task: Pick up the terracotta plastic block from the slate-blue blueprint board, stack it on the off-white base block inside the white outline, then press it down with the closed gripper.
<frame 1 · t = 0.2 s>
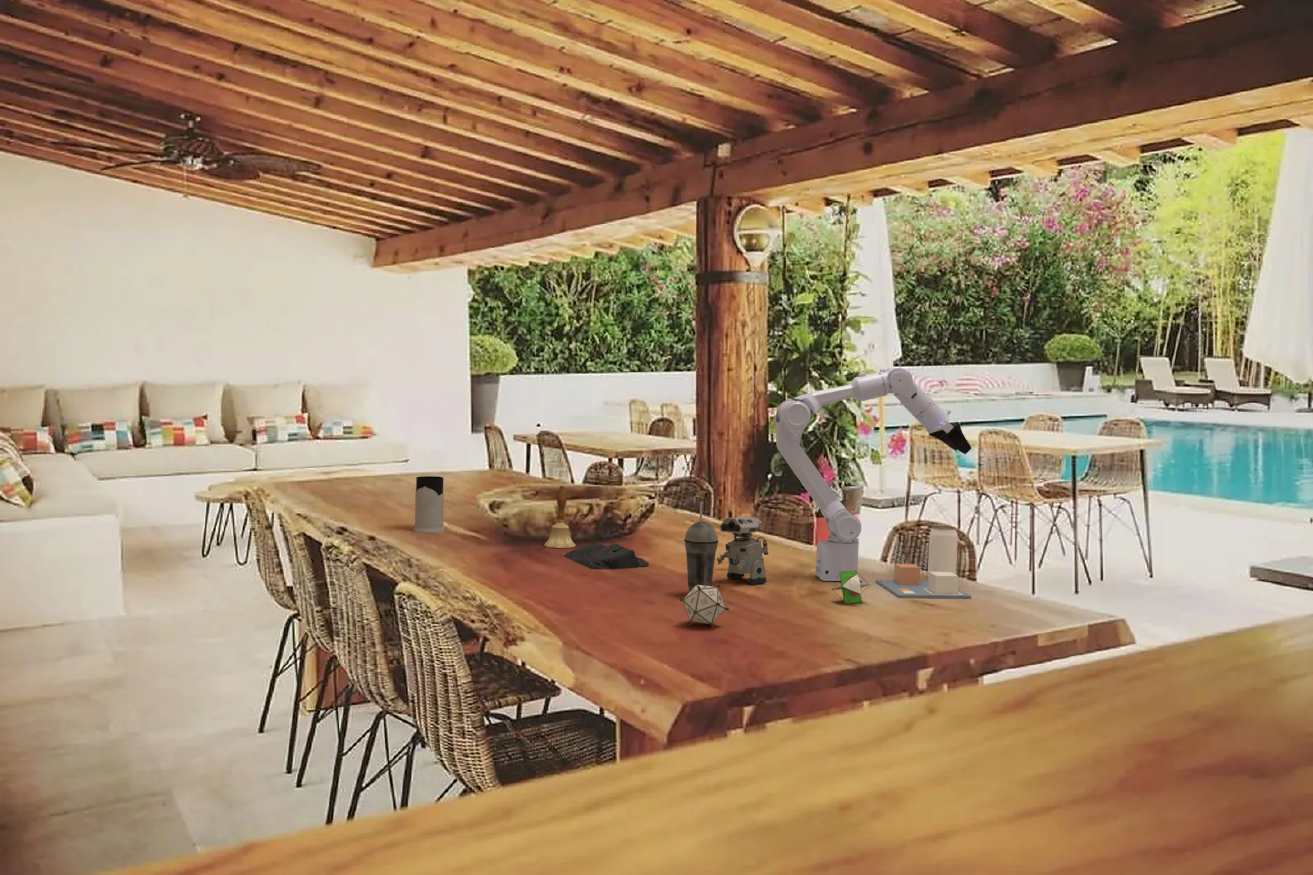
hand: (963, 449, 273), 31 cm above the table, tool tilted 45°, fingers open, 7 cm apart
glass holder: (432, 529, 335), on the table
geometric puzzle: (849, 603, 246), on the table
figurine: (739, 583, 265), on the table
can: (941, 578, 279), on the table
game die: (703, 626, 220), on the table
base block: (942, 591, 257), point 1 cm above the table, touching blueprint board
beverage cup: (699, 595, 249), on the table
blueprint board: (921, 590, 262), on the table
hand bell: (559, 546, 310), on the table
dark slate chunk: (605, 564, 288), on the table
terracotta block: (906, 583, 267), point 1 cm above the table, touching blueprint board
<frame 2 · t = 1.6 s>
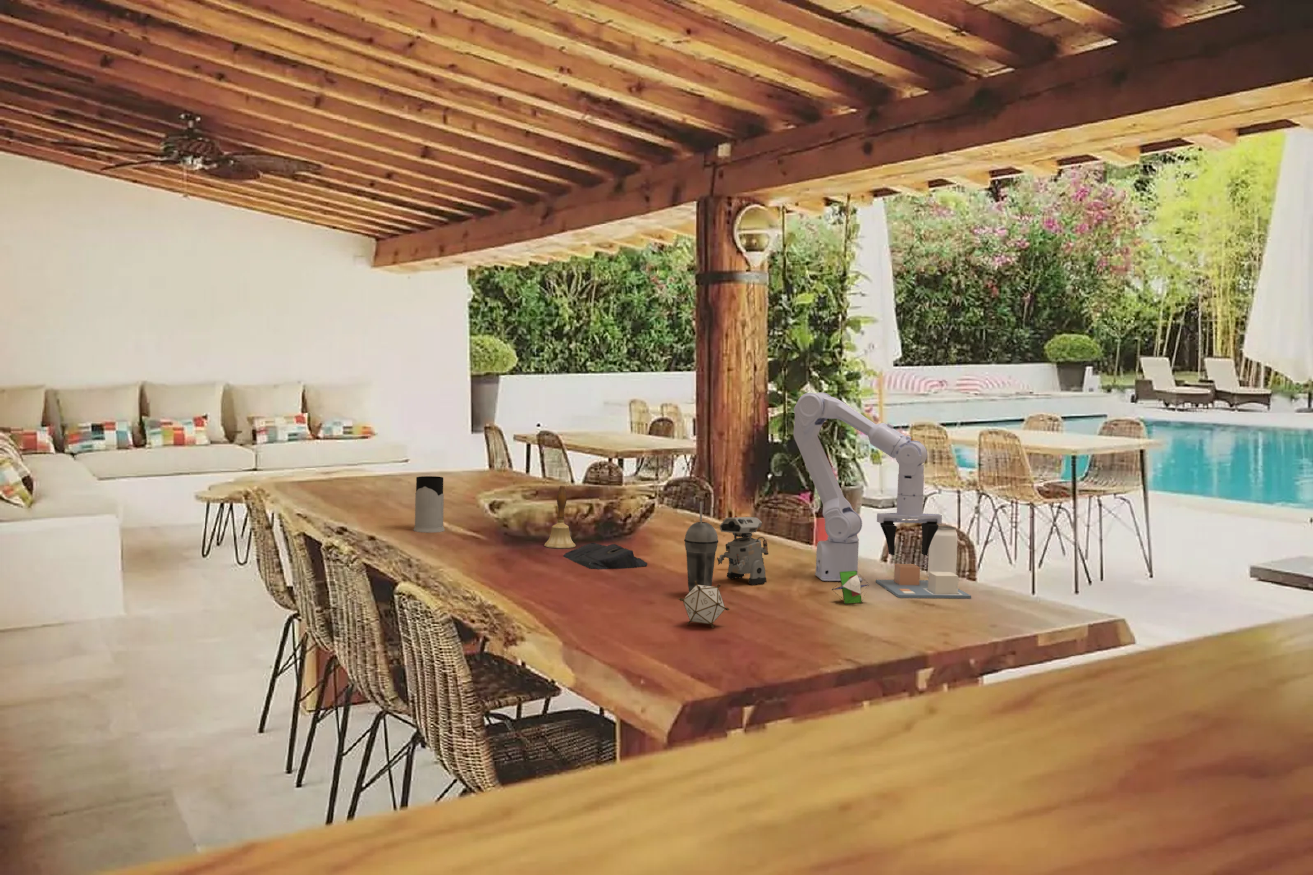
hand: (908, 554, 266), 7 cm above the table, tool pointing down, fingers open, 7 cm apart
nothing on the table moved.
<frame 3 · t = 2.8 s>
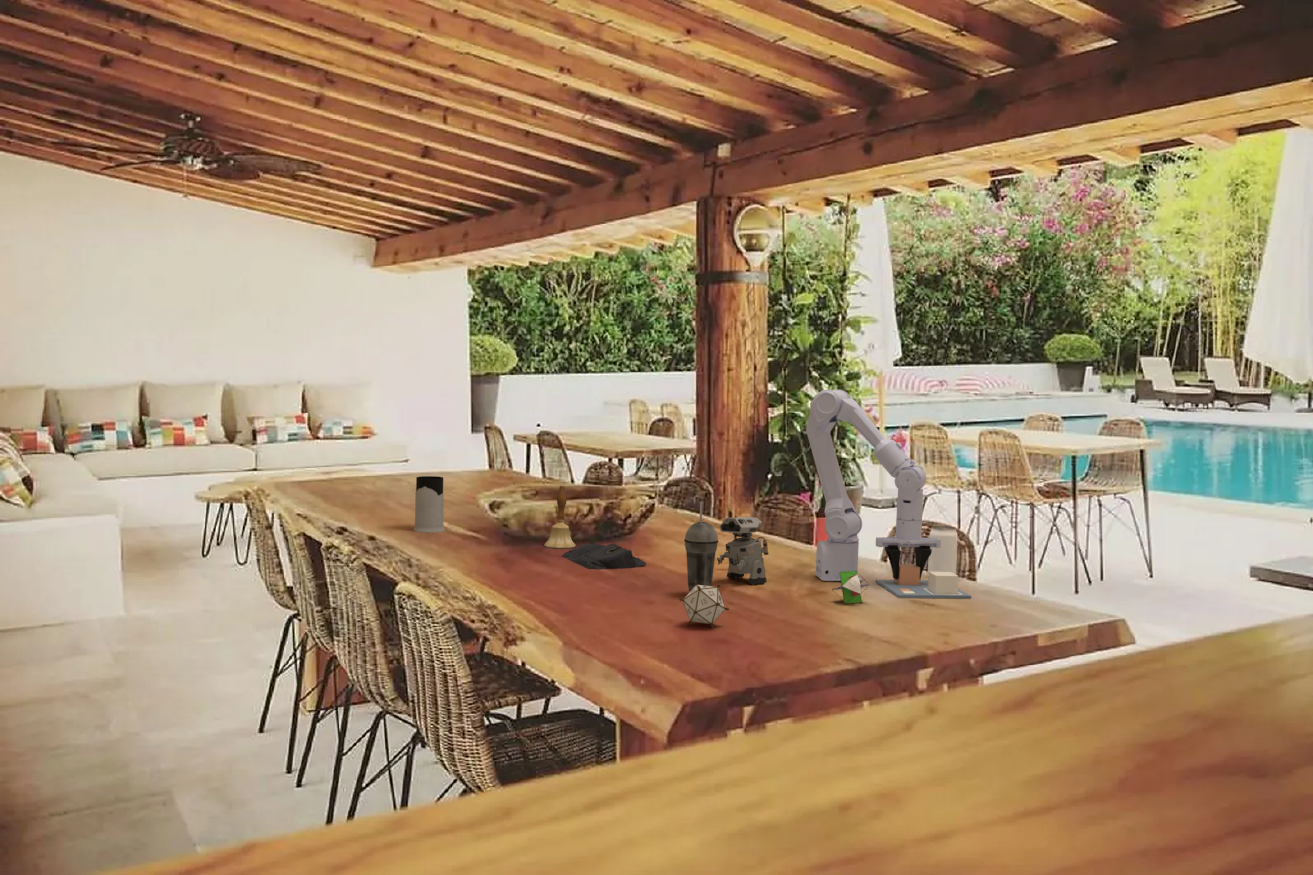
hand: (906, 578, 267), 2 cm above the table, tool pointing down, fingers closed on terracotta block, 4 cm apart
terracotta block: (906, 583, 267), point 1 cm above the table, touching blueprint board, gripper
everything else where it was.
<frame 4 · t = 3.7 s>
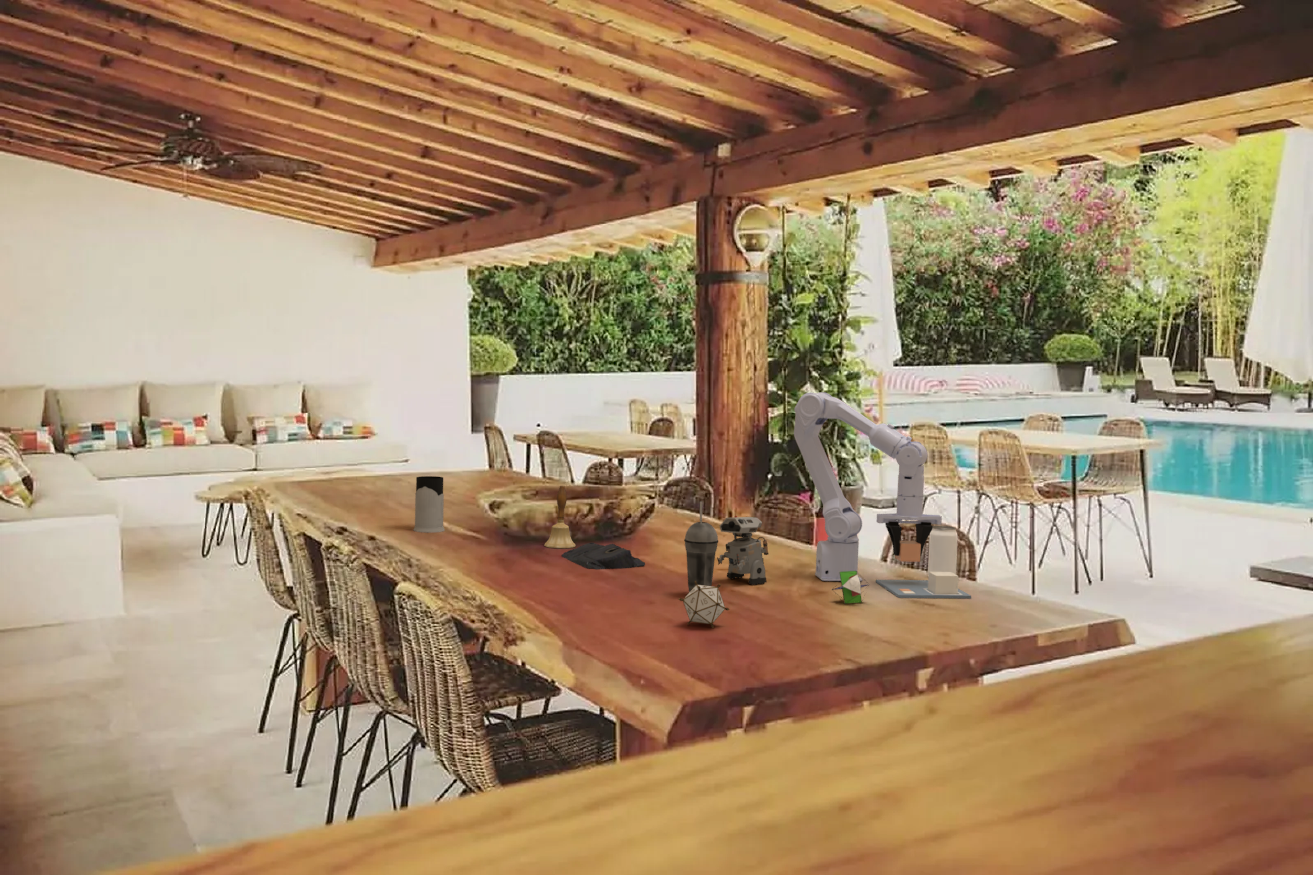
hand: (907, 555, 266), 7 cm above the table, tool pointing down, fingers closed on terracotta block, 4 cm apart
terracotta block: (907, 559, 266), point 6 cm above the table, touching gripper
everything else where it was.
when the fingers open (7 cm above the table, at t = 5.5 s): terracotta block drops 1 cm, resting on base block.
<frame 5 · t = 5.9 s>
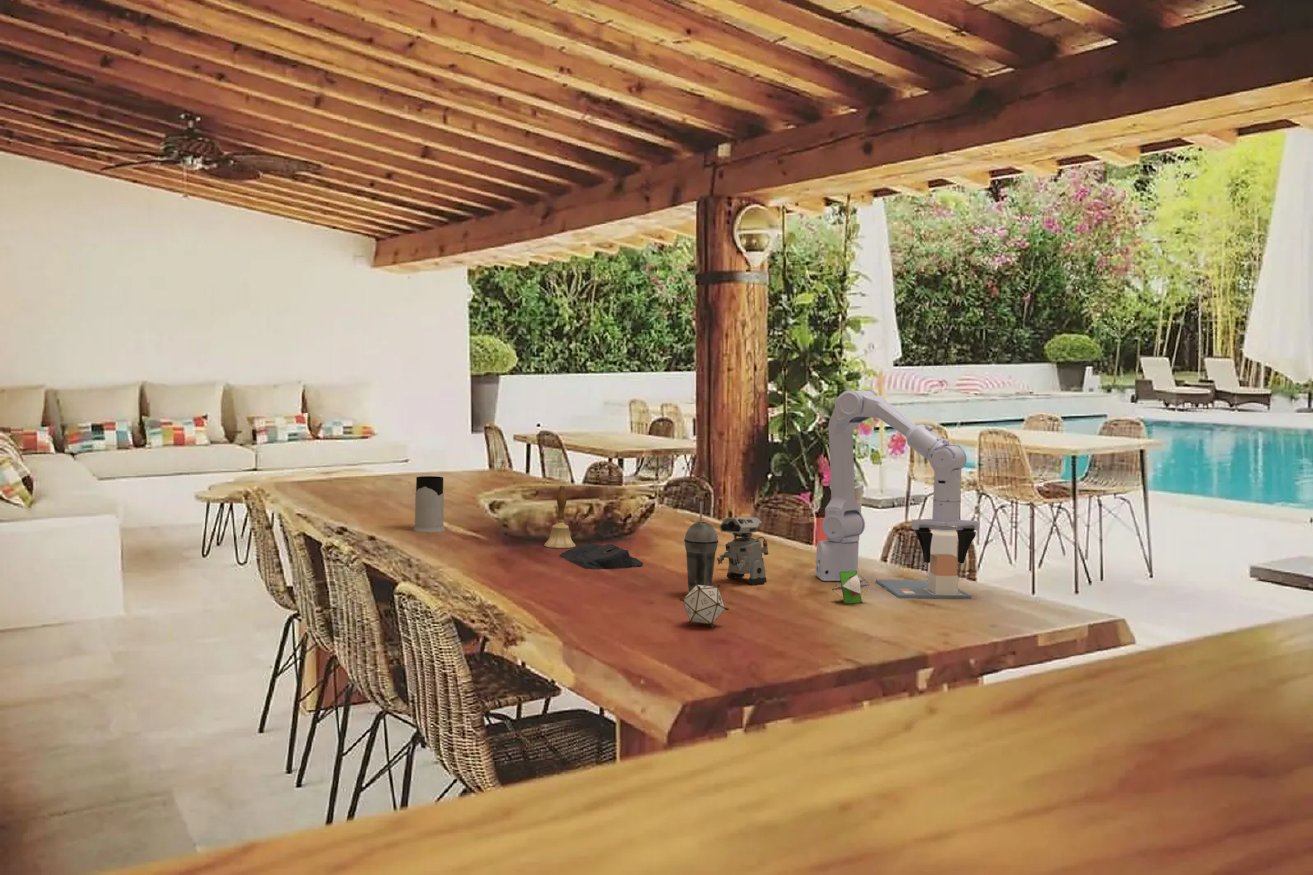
hand: (943, 562, 257), 7 cm above the table, tool pointing down, fingers open, 7 cm apart
base block: (942, 591, 257), point 1 cm above the table, touching blueprint board, terracotta block
terracotta block: (943, 573, 257), point 5 cm above the table, touching base block
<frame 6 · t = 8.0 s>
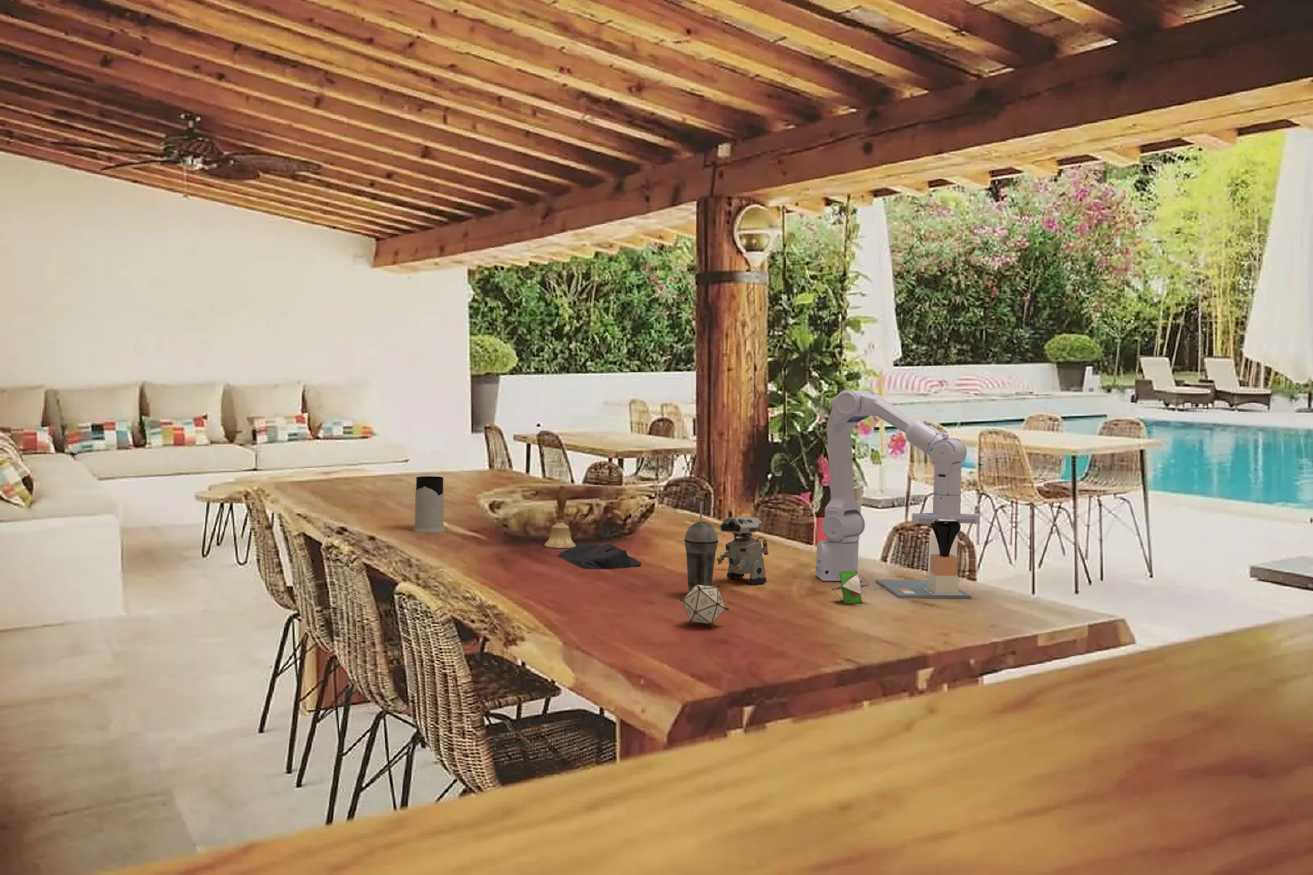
hand: (944, 556, 257), 8 cm above the table, tool pointing down, fingers closed, pressing on terracotta block
terracotta block: (943, 573, 257), point 5 cm above the table, touching base block, gripper
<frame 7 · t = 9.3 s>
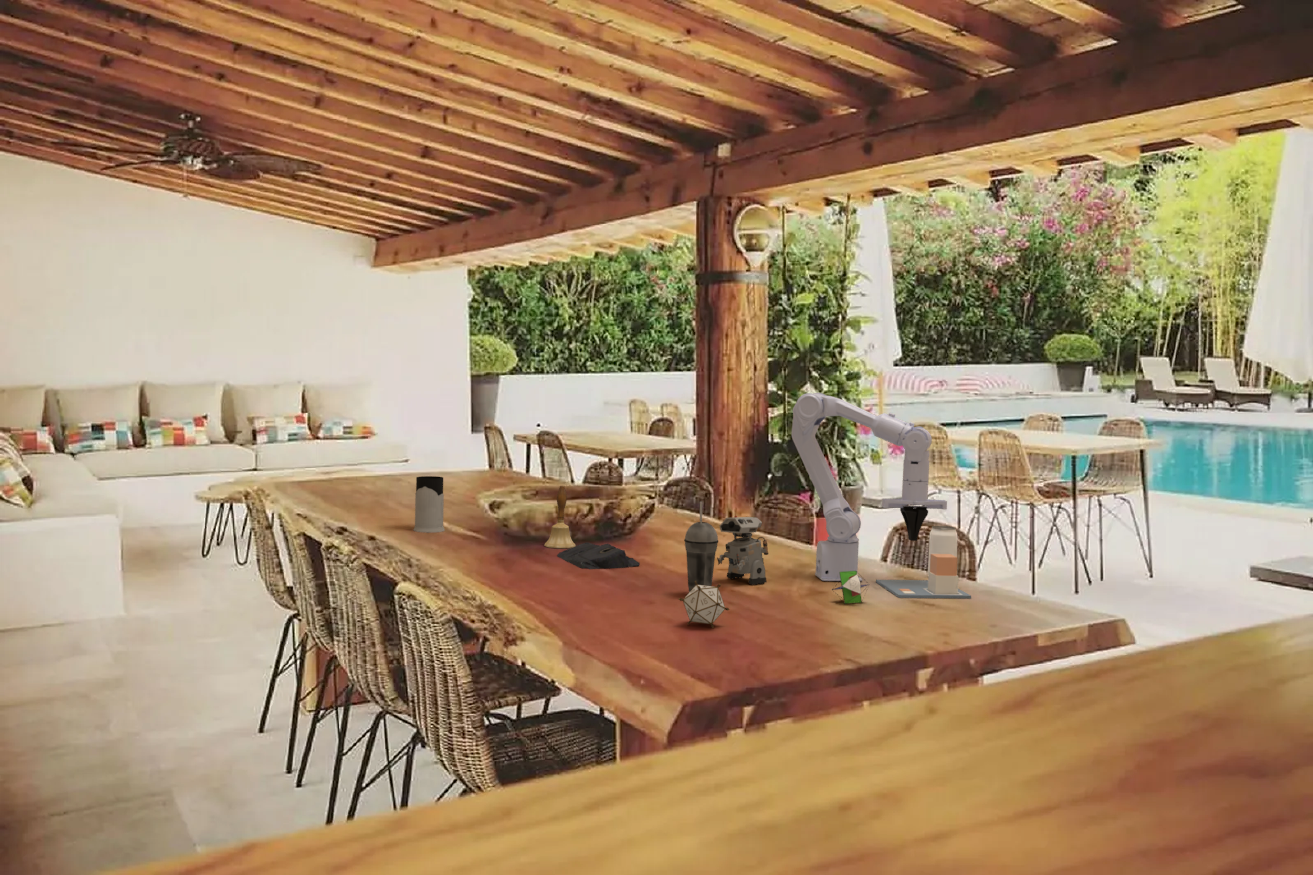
hand: (912, 540, 267), 10 cm above the table, tool pointing down, fingers closed
terracotta block: (943, 573, 257), point 5 cm above the table, touching base block
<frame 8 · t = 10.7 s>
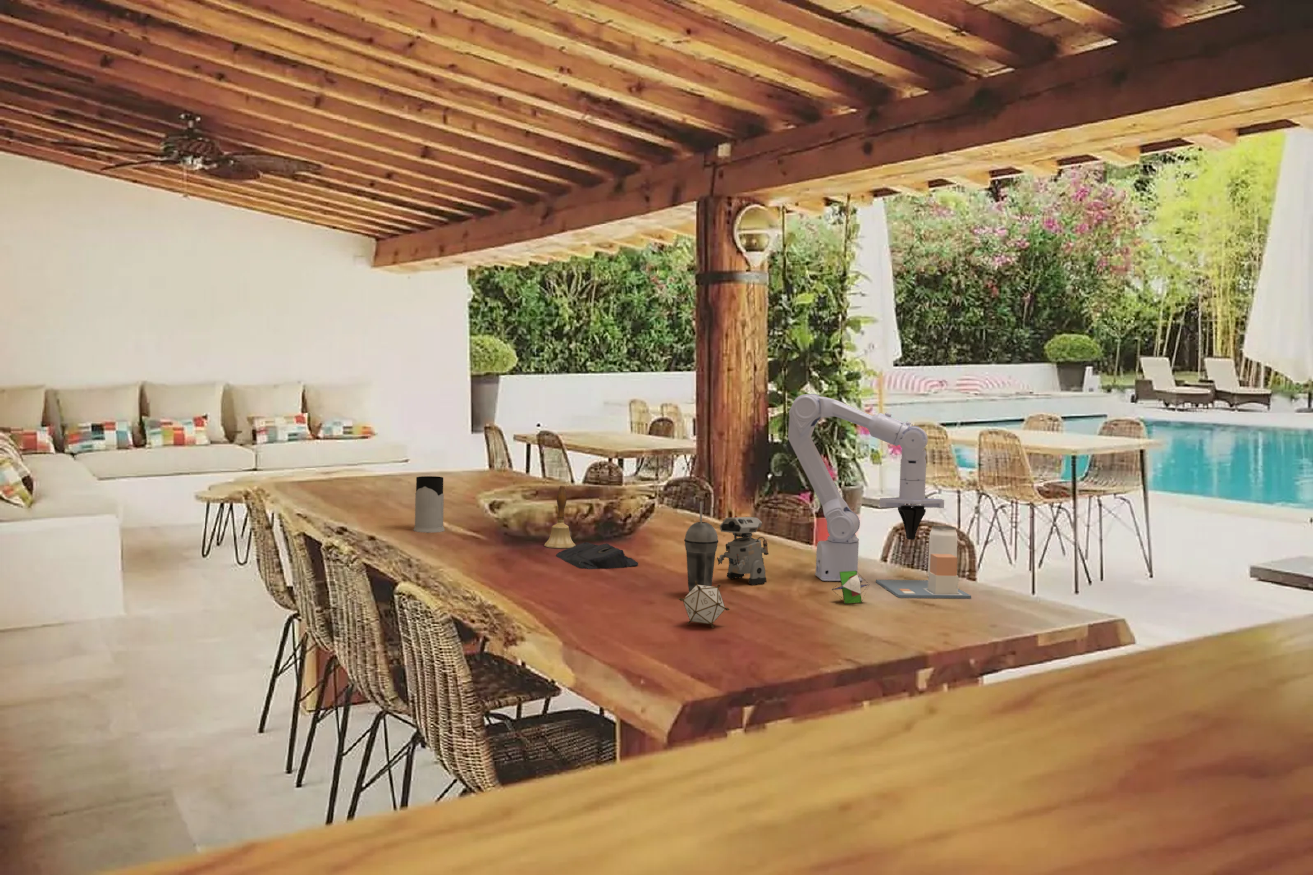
hand: (910, 539, 268), 10 cm above the table, tool pointing down, fingers closed
at the end: terracotta block 0.1 cm off-centre on the base block, point 4.0 cm above the base block's base; terracotta block tilted 0°; the gripper is holding nothing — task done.
